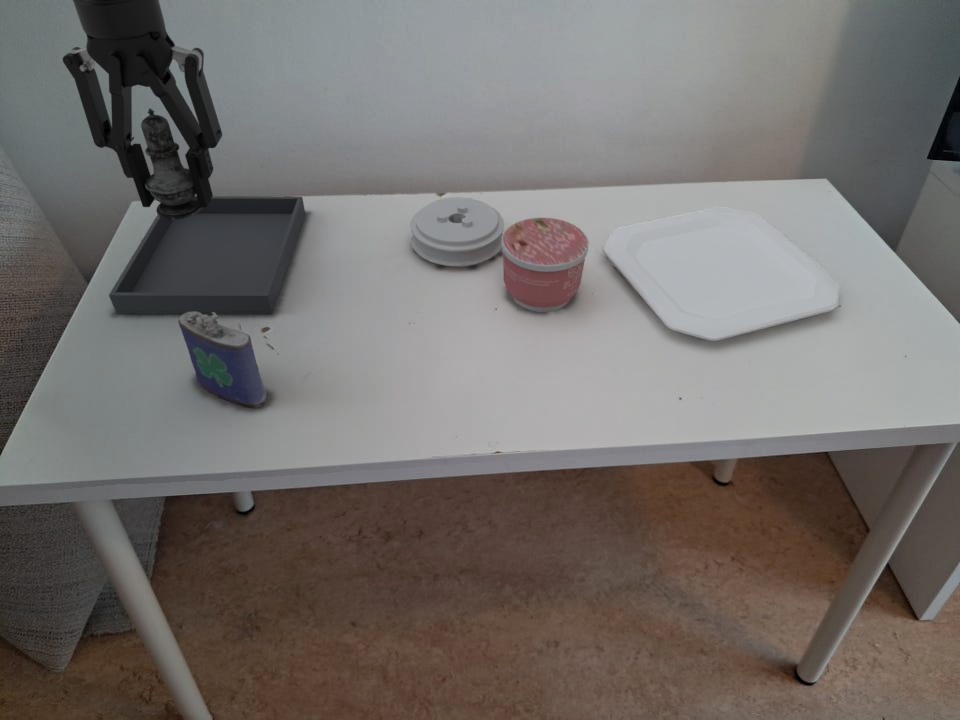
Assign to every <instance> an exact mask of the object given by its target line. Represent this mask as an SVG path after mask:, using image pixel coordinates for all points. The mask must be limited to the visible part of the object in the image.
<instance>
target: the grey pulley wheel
mask: <svg viewBox="0 0 960 720" xmlns="http://www.w3.org/2000/svg"><path fill="white" fill-rule="evenodd" d="M504 228H505V221H504V217H503V216H502V214H501V213H500V212H499V211H498V210H497V209H496V208H494V207H492V206H491V205H489V204H488V203H486V202H484V201H481V200H480V199H475V198H470V197H461V196H458V197H446V198H441V199H438V200H434V201H432V202H430V203H428V204H425V206H423V207H422V208H420V209H419V210H417V211H416V212H415V213H414V214H413V216H412V218H411V220H410V231H411V234H412V235H411V245H412V248H413V250H414V251H415V253H416V254H417V255H418V256H420V257H421V258H422V259H424V260H426V261H428V262H430V263H434V264H436V265H440V266H446V267H467V266H474V265H476V264H477V265H478V264H480V263H483V262H486V261H488V260H490V259H492V258H493V257H495V256H496V255H497V254H499V252H501V250H502V246H501V240H502V235H503V234H504Z"/></svg>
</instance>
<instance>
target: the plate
mask: <svg viewBox="0 0 960 720" xmlns="http://www.w3.org/2000/svg"><path fill="white" fill-rule="evenodd" d="M602 253H603V254H604V255H605V256H606V258H608V260H609V261H610V262H611V263H612V265H614V267H615V268H616V269H617V270H618V271H619V273H621V275H622V276H623V277H624V279H625V280H626V281H627V282H628V283H629V284H630V285H631V287H633V289H634V290H635V291H636V292H637V294H638V295H639V296H640V297H641V298H642V299H643V301H644V302H645V303H646V305H648V307H649V308H650V309H651V310H652V311H653V312H654V313H655V315H656V316H657V318H659V319H660V320H661V322H662V323H663V324H664V325H665V327H667V328H668V329H670V330H672V331H673V332H674V331H675V332H678V333H682V334H685V335H688V336H692V337H696V338H700V339H703V340H707V341H711V342H712V341H713V342H717V341H722V340H725V339H730V338H732V337H737V336H740V335H743V334H748V333H752V332H757V331H760V330H763V329H768V328H771V327H774V326H779V325H782V324H783V325H784V324H787V323H790V322H794V321H797V320H801V319H805V318H806V319H807V318H810V317H813V316H817V315H820V314H821V315H822V314H825V313H828V312H832V311H834V310H835V309H836V308H838V306H839V300H840V293H841V289H842V284H841V282H840V281H839V280H838V279H837V278H835V277H834V276H833V275H832V274H831V273H829V272H828V271H827V270H826V269H824V268H823V267H822V266H821V265H820V264H818V263H817V262H816V261H815V260H814V259H813V258H811V257H810V256H809V255H807V253H805V252H804V251H803V250H801V248H799V247H798V246H797V245H796V244H795V243H794V242H792V241H790V239H788V238H787V237H786V236H784V234H782V233H781V232H780V231H779V230H778V229H776V228H775V227H774V226H773V225H771V224H770V223H769V222H768V221H767V220H765V219H764V218H763V216H761V215H759V214H757V213H755V212H751V211H746V210H741V209H737V208H733V207H728V206H722V205H721V206H714V207H710V208H705V209H700V210H695V211H691V212H685V213H680V214H677V215H671V216H666V217H662V218H657V219H652V220H651V219H650V220H647V221H643V222H637V223H632V224H628V225H623V226H619V227H618V226H617V227H615V228H614V229H612V230H611V232H610V233H609V235H608V236H607V238H606V239H605V241H604V244H603V245H602Z"/></svg>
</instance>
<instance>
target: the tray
mask: <svg viewBox="0 0 960 720" xmlns="http://www.w3.org/2000/svg"><path fill="white" fill-rule="evenodd" d="M195 196H196V197H197V195H195ZM305 216H306V209H305V205H304V199H303V196H265V195H264V196H259V195H257V196H256V195H255V196H254V195H253V196H252V195H250V196H249V195H247V196H245V195H244V196H240V195H239V196H236V195H234V196H233V195H232V196H231V195H229V196H227V195H226V196H225V195H213V196H212V198H211V200H210V202H209V204H208V206H207V207H203V208H202V210H201V211H199V212H198V213H197V214H195V215H193V216H190V217H187V218H183V219H176V220H174V219H165V218H162V217H160V216H159V215H158V214H157V215H156V216H155V218H154V220H152V222H151V224H150V226H149V228H148V229H147V231H146V233H145V234H144V236H143V238H142V239H141V241H140V243H139V245H138V246H137V248H136V249H135V251H134V252H133V254H132V256H131V257H130V259H129V261H128V263H127V264H126V266H125V267H124V269H123V271H122V272H121V274H120V275H119V278H118V279H117V281H116V283H115V284H114V285H113V287H112V289H111V291H110V292H109V294H108V297H109V299H110V301H111V304H112V306H113V308H114V311H115V313H116V314H118V315H126V314H127V315H128V314H129V315H157V314H158V315H183V314H184V313H186V312H189V311H190V312H192V311H197V312H200V313H202V314H203V315H213V314H212V312H215V313H216V315H273V313H274V311H275V308H276V304H277V301H278V298H279V296H280V292H281V289H282V286H283V284H284V280H285V276H286V274H287V271H288V268H289V265H290V262H291V259H292V256H293V253H294V250H295V247H296V244H297V241H298V237H299V234H300V232H301V228H302V225H303V222H304V220H305Z"/></svg>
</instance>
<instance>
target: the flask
mask: <svg viewBox="0 0 960 720" xmlns="http://www.w3.org/2000/svg"><path fill="white" fill-rule="evenodd" d="M218 319H219V315H218V314H216V313H215V312H212V314H211V316H209V314H202V313H200V312H197V311H192V312H190V311H189V312H186V313H184V314H180V316H179V318H178V320H177V323H178V325H179V328H180V330H181V333H182V336H183V340H184V342H185V345H186V348H187V351H188V355H189V357H190V361H191V364H192V366H193V370H194V372H195V375H196V380H197V383H198V385H199V386H200V387H201V388H202V389H203V390H205V391H206V392H207V393H208V394H209V393H210V394H211V395H212V396H214V397H217V398H219V399H222V400H225V401H226V402H229V403H232V404H236V405H237V406H241V407H243V408H252V409H254V408H255V409H258V408H259V407H262V406H263V405H264V404H265V403H266V402H267V400H268V398H267V392H266V389H265V385H264V383H263V380H262V376H261V373H260V370H259V365H258V362H257V360H256V355H255V351H254V348H253V343H252V339H251V338H252V337H251V336H250V334H248V333H246V332H244V331H240V330H237V329H233V328H229V327H227V326H224V325H221V324H219V322H218Z"/></svg>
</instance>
